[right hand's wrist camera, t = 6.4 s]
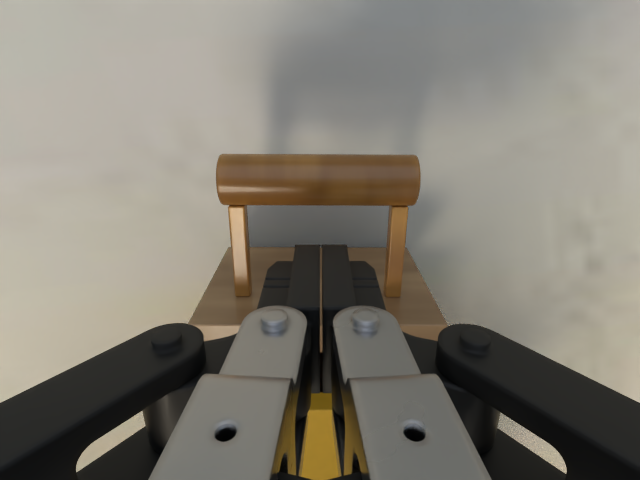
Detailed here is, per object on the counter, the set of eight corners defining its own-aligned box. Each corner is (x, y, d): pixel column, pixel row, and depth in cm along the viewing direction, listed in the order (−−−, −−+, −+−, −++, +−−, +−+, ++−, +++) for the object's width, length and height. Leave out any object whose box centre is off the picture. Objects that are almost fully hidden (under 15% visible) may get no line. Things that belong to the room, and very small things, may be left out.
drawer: (219, 135, 19) (165, 166, 12) (417, 136, 19) (470, 168, 12) (246, 472, 27) (223, 602, 20) (386, 472, 27) (409, 602, 20)
